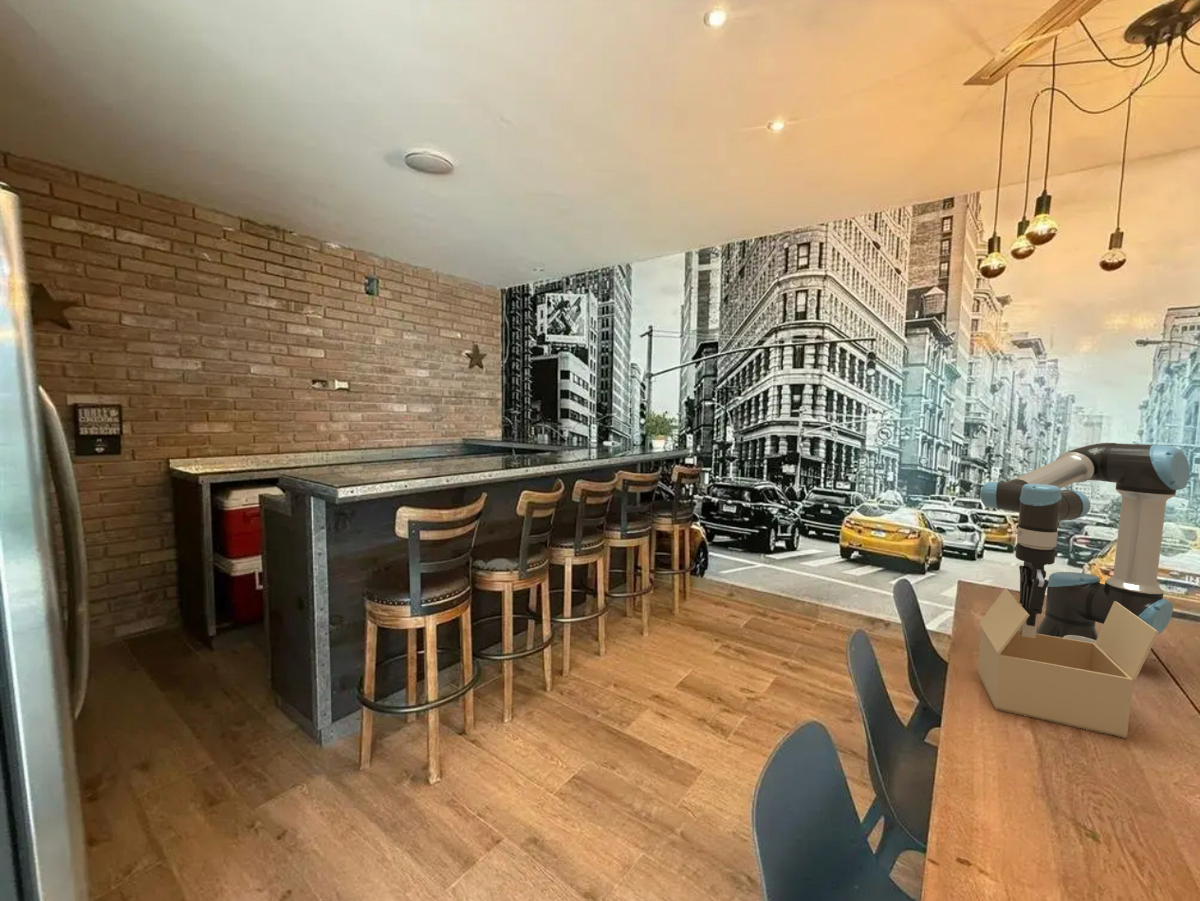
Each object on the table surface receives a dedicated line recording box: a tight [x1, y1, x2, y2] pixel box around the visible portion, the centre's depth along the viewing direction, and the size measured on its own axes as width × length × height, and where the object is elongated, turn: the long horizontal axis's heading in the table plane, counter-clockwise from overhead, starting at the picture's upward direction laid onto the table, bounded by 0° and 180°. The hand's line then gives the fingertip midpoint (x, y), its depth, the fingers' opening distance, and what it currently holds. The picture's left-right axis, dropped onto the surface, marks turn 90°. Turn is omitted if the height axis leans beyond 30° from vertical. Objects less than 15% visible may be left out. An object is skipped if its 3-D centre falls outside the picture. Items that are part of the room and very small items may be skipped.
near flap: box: [1095, 601, 1159, 680], centre depth 121 cm, size 12×20×1 cm
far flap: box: [979, 588, 1030, 654], centre depth 131 cm, size 12×20×1 cm
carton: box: [976, 626, 1134, 740], centre depth 128 cm, size 24×20×14 cm
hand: (1027, 635), depth 129 cm, fingers closed
